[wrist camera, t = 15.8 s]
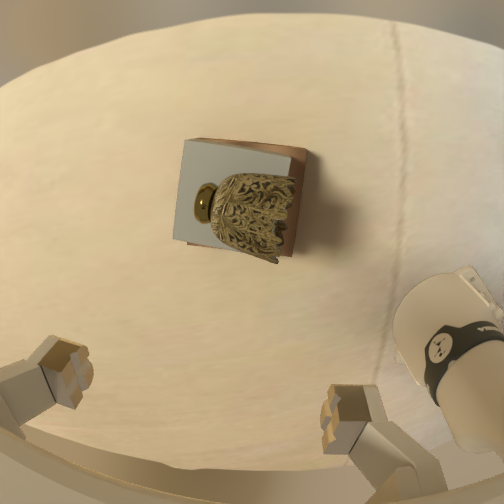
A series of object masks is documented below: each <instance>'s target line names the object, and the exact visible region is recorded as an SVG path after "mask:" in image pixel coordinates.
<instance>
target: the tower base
mask: <svg viewBox="0 0 504 504" xmlns="http://www.w3.org/2000/svg"><path fill="white" fill-rule="evenodd" d="M195 139H201V140H207V141H214V142H221V143H227V144H233V145H239V146H245V147H250V148H256V149H261V150H266V151H272V152H277V153H282V154H286V155H289V156H290V157H291V162H290V167H289V172H288V177H297V180H296V181H297V182H295V184H296V185H294V186H292V187H293V188H294V189H295V191H296V192H295V193H294V195H293V197H294V199H293V201H292V202H291V204H292V206H291V207H290V209H289V210H288V209H286V210H287V213H288V218H287V219H285V220H283V221H284V222H286V224H287V226H288V228H287V230H286V231H283V232H282V234H283V238H284V244H283V245H282V246H281V247H279V248H280V249H281V252H282V254H281V255H280V256H288V257H292V254H293V248H294V241H295V235H296V228H297V221H298V214H299V207H300V200H301V193H302V186H303V178H304V171H305V163H306V155H307V149H305V148H300V147H292V146H284V145H276V144H267V143H258V142H247V141H236V140H224V139H209V138H195ZM280 221H281V220H280ZM281 222H282V221H281ZM284 222H283V223H284ZM187 245H194V246H202V247H211V246H206V245H201V244H195V243H190V242H187ZM211 248H216V247H211ZM220 249H221V248H220Z"/></svg>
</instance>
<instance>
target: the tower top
mask: <svg viewBox="0 0 504 504" xmlns="http://www.w3.org/2000/svg"><path fill="white" fill-rule="evenodd" d="M290 162H291V157H290V156H289V155H286V154H282V153H277V152H272V151H266V150H261V149H256V148H250V147H245V146H239V145H233V144H227V143H221V142H214V141H207V140H201V139H189V140H185V142H184V149H183V156H182V163H181V170H180V178H179V185H178V193H177V202H176V210H175V220H174V229H173V239H175V240H180V241H185V242H190V243H195V244H201V245H206V246H211V247H216V248H221V249H226V250H232V251H237V252H241V251H239V250H236V249H234V248H232V247H230V246H228V245H226V244H224V243H223V242H221V241H220V240H219V239H218V238H217V237H216V236H215V234H214V233H213V231H212V228H211V223H209V224H201V223H200V222H198V221H197V220H196V219H195V216H194V201H195V197H196V194H197V192H198V190H199V188H200V187H201V186H202V185H203V184H205V183H209V182H212V183H214V184H216V185H217V186H219V185H220V184H221V183H222V181H224V180H225V179H226V178H228V177H229V176H232V175H234V174H239V173H259V174H270V175H279V176H288V172H289V167H290ZM242 253H244V252H242Z"/></svg>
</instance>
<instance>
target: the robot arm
mask: <svg viewBox="0 0 504 504" xmlns="http://www.w3.org/2000/svg"><path fill="white" fill-rule="evenodd" d="M471 278H472V279H471ZM470 279H471V280H470ZM503 317H504V312H503V311H502V309H501V308H500V307H499V306H498V305H497V304H496V302H495V301H494V299H493V297H492V296H491V294H490V293H489V291H488V289H487V288H486V286H485V285H484V283H483V282H482V280H481V278H480V277H479V275H478V274H477V272H476V271H475V270H474V268H473V267H472V266H470V265H468V266H465V267H463V268H461V269H459V270H457V271H455V272H453V273H445V274H439V275H435V276H432V277H430V278H428V279H426V280H424V281H422V282H421V283H419V284H418V285H417V286H415V287H414V288H413V289H412V290H411V291H410V292H409V293H408V294H407V295H406V297H405V298H404V299H403V300H402V302H401V304H400V305H399V307H398V309H397V311H396V314H395V317H394V320H393V336H394V339H395V342H396V348H395V354H394V358H395V360H396V362H397V363H398V364H402V365H406V366H407V368H408V369H409V371H410V373H411V375H412V376H413V378H414V380H415V382H416V383H417V384H418V385H419V386H420V385H422V386H427V390H428V393H429V395H430V396H431V398H432V399H433V401H434V402H435V404H436V405H437V406H439V407H440V408H441V410H442V412H443V415H444V417H445V419H446V422H447V424H448V426H449V428H450V431H451V433H452V435H453V438H454V440H455V443H456V444H457V446H458V447H459V448H460V449H462V450H464V451H466V452H470V453H477V454H479V453H487V452H491V451H494V452H495V453H496V454H497V455H498V456H499V457H500V458H501V460H502V461H503V463H504V331H503V330H502V328H501V326H500V324H501V322H502V319H503ZM88 356H89V351H88V348H87V347H86V346H85V345H82V344H79V343H76V342H72V341H69V340H66V339H63V338H60V337H57V336H54V335H50V336H48V337H47V338H46V339H45V340H44V341H43V343H42V344H41V345H40V346H39V347H38V348H37V349H36V350H35V351H34V352H33V354H32V355H31V356H30V357H29V358H28V359H27V360H24V359H23V360H20V361H18V362H15V363H12V364H10V365H7V366H5V367H2V368H0V504H226V503H218V502H212V501H205V500H200V499H194V498H189V497H184V496H179V495H175V494H170V493H166V492H162V491H158V490H154V489H150V488H146V487H143V486H139V485H136V484H132V483H129V482H126V481H122V480H119V479H116V478H113V477H110V476H107V475H104V474H102V473H99V472H96V471H93V470H91V469H88V468H85V467H83V466H80V465H78V464H76V463H73V462H71V461H68V460H66V459H64V458H61V457H59V456H57V455H55V454H53V453H51V452H48V451H46V450H44V449H42V448H40V447H38V446H36V445H34V444H32V443H30V442H28V441H26V437H25V434H24V433H23V431H22V430H21V428H20V426H21V425H23V424H24V423H26V422H27V421H29V420H31V419H32V418H34V417H36V416H37V415H39V414H41V413H42V412H44V411H46V410H47V409H49V408H50V407H52V406H54V405H55V404H56V403H58V404H60V405H63V406H66V407H69V408H72V409H76V407H77V406H78V404H79V403H80V401H81V399H82V398H83V394H82V391H84V390H86V389H88V388H89V386H90V385H91V383H92V379H93V375H94V374H93V366H92V363H91V362H90V361H89V360H88V359H87V357H88ZM327 393H328V399H327V400H325V401H324V403H323V406H322V409H321V415H320V423H321V428H322V429H323V430H324V431H325V432H324V435H323V437H322V445H323V454H344V455H346V454H349V455H348V456H349V457H350V459H351V460H352V461H353V462H354V464H355V465H356V466H357V467H358V469H359V470H360V471H361V472H362V473H363V475H364V476H365V477H366V479H367V480H368V481H369V482H370V483H371V485H372V486H373V487H374V488H375V490H376V492H375V494H373V496H372V497H371V498H370V499H369V500H368V501H367V502H366V503H365V504H504V473H502V474H499V475H497V476H494V477H491V478H488V479H485V480H483V481H479V482H476V483H473V484H470V485H467V486H463V487H460V488H456V489H453V490H449V491H448V488H447V484H446V481H445V478H444V475H443V472H442V469H441V466H440V463H439V460H438V459H436V458H435V457H434V456H433V455H432V454H430V453H429V452H428V451H427V450H426V449H424V448H423V447H422V446H421V445H420V444H419V443H417V442H416V441H415V440H414V439H413V438H411V437H410V436H409V435H408V434H407V433H406V432H404V431H403V430H402V429H401V428H400V427H398V426H397V425H396V424H395V423H394V422H393V421H388V419H387V416H386V413H385V409H384V406H383V403H382V400H381V397H380V393H379V390H378V387H377V386H376V385H344V384H331V386H330V387H329V389H328V392H327Z"/></svg>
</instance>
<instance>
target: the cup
mask: <svg viewBox="0 0 504 504" xmlns="http://www.w3.org/2000/svg"><path fill="white" fill-rule="evenodd" d="M296 180H297V177H288V176H279V175H270V174H259V173H239V174H234V175H232V176H229V177H228V178H226V179H225V180H224V181H222V183H221V184H220V185H219V186H217V185H216V184H214V183H212V182H209V183H205V184H203V185H202V186H201V187H200V188H199V190H198V192H197V194H196V197H195V201H194V216H195V219H196V220H197V221H198V222H200V223H201V224H209V223H211V228H212V231H213V233H214V234H215V236H216V237H217V238H218V239H219V240H220V241H221V242H223V243H224V244H226V245H228V246H230V247H232V248H234V249H236V250H239V251H241V252H244V253H247V254H250V255H252V256H255V257H258V258H261V259H264V260H266V261H269V262H272V263H275V264H278V263H279V261H278V259H277V258H276V257H277V256H278V257H279V256H280V255H281V254H282V252H281V249H280V248H279V247H281V246H282V245H283V244H284V238H283V234H282V232H283V231H286V230H287V228H288V226H287V224H286V222H284V221H283V220H285V219H287V218H288V213H287V210H286V209H288V210H289V209H290V207H291V206H292V204H291V202H292V201H293V199H294V197H293V195H294V193H295V192H296V191H295V189H294V188H293V187H292V186H294V185H296V184H295V182H297V181H296ZM280 220H281V221H282V222H281V221H280ZM283 222H284V223H283Z"/></svg>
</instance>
